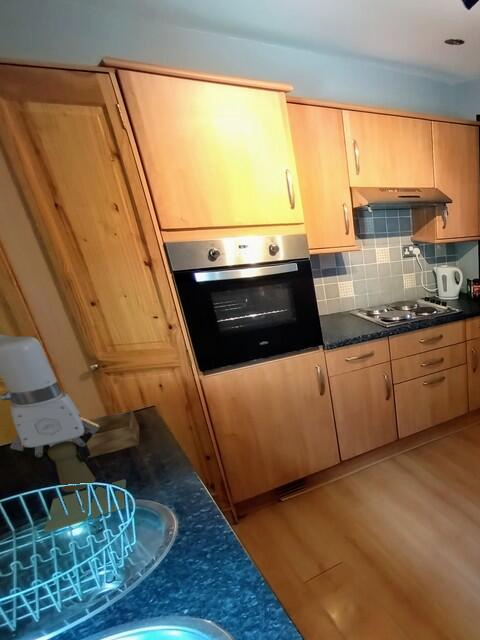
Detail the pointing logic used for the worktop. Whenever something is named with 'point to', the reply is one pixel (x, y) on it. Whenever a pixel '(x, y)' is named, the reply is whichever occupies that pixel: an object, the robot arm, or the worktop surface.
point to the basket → (113, 433)
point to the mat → (75, 510)
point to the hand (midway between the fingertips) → (69, 463)
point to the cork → (70, 466)
